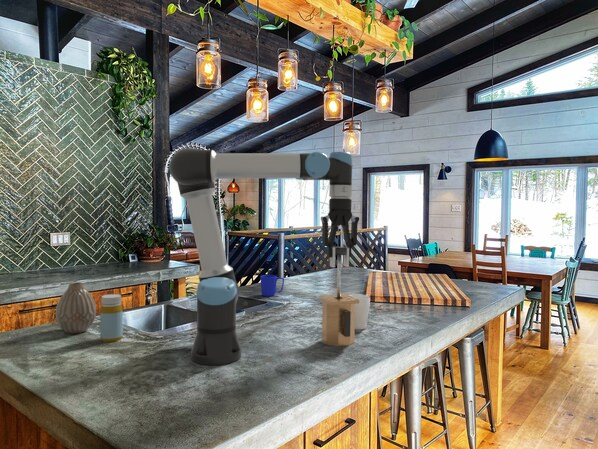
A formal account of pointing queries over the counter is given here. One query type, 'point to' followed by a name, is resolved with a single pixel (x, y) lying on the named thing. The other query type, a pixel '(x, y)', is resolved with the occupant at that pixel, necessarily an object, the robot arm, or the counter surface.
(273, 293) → the mug
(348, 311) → the block
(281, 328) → the counter surface
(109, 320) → the bottle
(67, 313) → the vase
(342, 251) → the plunger
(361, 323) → the cup
